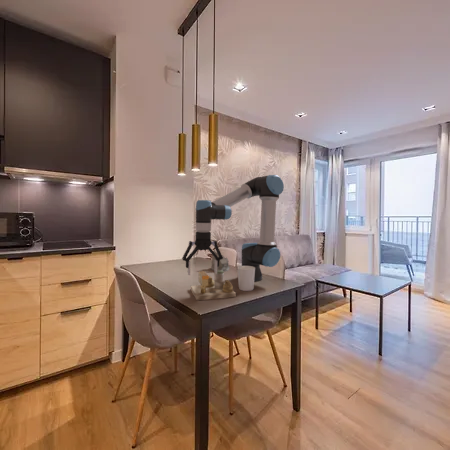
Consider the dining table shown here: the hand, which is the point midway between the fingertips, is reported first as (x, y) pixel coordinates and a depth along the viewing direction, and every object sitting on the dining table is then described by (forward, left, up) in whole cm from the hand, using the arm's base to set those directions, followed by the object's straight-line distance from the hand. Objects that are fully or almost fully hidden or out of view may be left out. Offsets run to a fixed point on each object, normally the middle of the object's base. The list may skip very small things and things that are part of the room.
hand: (202, 273), depth 126 cm
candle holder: (-26, -7, -12) cm, 30 cm away
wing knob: (0, 0, -9) cm, 10 cm away
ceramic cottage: (-27, -58, -12) cm, 65 cm away
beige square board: (-6, -5, -12) cm, 14 cm away
